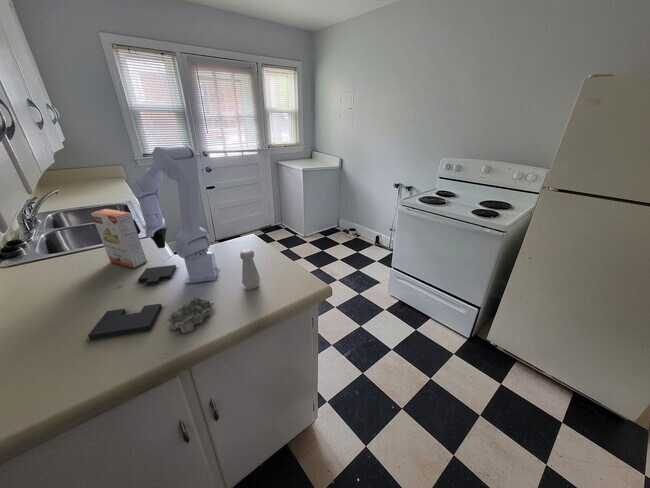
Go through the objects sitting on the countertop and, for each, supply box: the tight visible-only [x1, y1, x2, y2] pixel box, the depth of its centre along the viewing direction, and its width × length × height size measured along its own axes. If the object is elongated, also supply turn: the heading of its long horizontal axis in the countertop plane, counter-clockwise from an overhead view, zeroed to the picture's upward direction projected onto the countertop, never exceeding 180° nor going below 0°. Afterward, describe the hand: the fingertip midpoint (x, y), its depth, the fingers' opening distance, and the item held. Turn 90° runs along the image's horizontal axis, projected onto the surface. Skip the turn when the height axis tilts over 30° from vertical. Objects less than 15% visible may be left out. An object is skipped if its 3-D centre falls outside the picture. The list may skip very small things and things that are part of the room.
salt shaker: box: [239, 248, 261, 291], centre depth 87 cm, size 6×6×13 cm
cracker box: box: [90, 208, 148, 269], centre depth 102 cm, size 14×6×21 cm, turn 67°
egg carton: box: [166, 295, 215, 334], centre depth 74 cm, size 11×8×4 cm
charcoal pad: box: [87, 303, 163, 341], centre depth 74 cm, size 14×10×2 cm
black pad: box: [137, 264, 177, 287], centre depth 96 cm, size 10×11×2 cm
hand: (161, 247), depth 103 cm, fingers closed
